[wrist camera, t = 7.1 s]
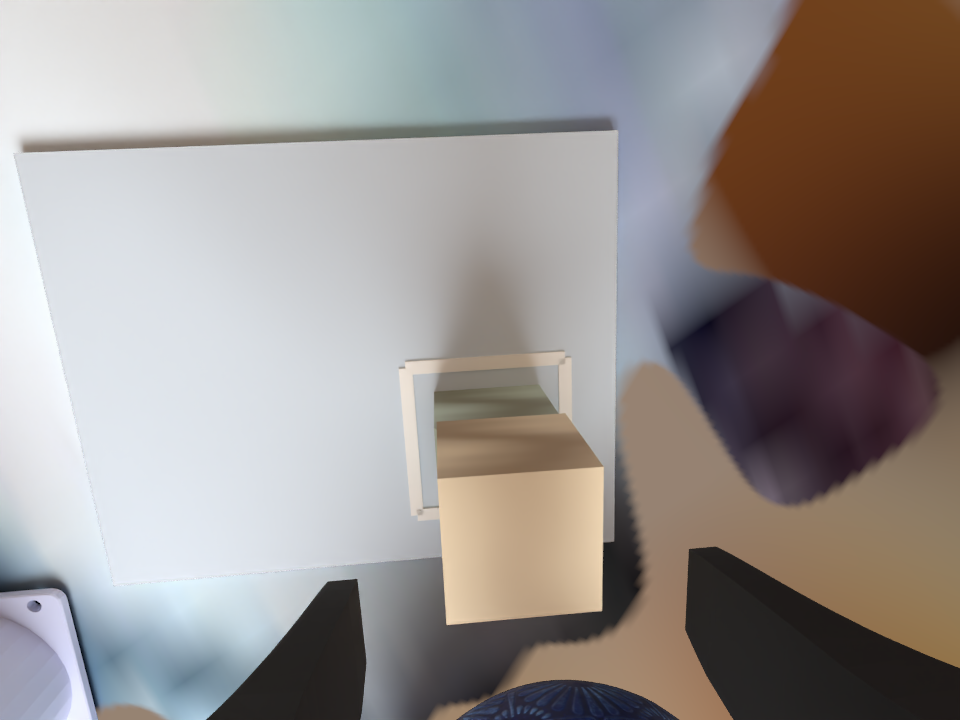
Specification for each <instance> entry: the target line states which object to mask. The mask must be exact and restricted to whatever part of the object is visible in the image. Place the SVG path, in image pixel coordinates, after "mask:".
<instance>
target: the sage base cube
mask: <svg viewBox="0 0 960 720" xmlns="http://www.w3.org/2000/svg"><path fill="white" fill-rule="evenodd" d="M546 414H559V413H558V412H557V411H556V409H555V408H554V406H553V405H552V403H551V402H550V400H549V399H548V397H547V396H546V394H545V393H544V391H543V390H542V388H541V387H540V386H539V385H524V386H510V387H495V388H481V389H466V390H452V391H437V392H434V436H435V450H436V464H437V422H440V421H455V420H470V419H485V418H501V417H516V416H531V415H546Z"/></svg>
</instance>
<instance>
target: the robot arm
mask: <svg viewBox="0 0 960 720" xmlns="http://www.w3.org/2000/svg"><path fill="white" fill-rule="evenodd" d="M35 601H38V602H39V603H40V604H41V605H38V604H36V602H35ZM685 630H686V632H687V635H688V637H689V639H690V641H691V644H692V646H693V648H694V650H695V652H696V655H697V657H698V659H699V661H700V663H701V665H702V667H703V669H704V671H705V673H706V675H707V677H708V679H709V680H710V682H711V684H712V685H713V687H714V689H715V690H716V692H717V694H718V695H719V697H720V699H721V700H722V702H723V703H724V705H725V707H726V708H727V710H728V712H729V713H730V715H731V716H732V718H733V719H734V720H960V668H958V667H955V666H953V665H950V664H947V663H945V662H942V661H940V660H937V659H935V658H932V657H930V656H928V655H925V654H923V653H921V652H918V651H916V650H913V649H911V648H909V647H907V646H905V645H902V644H900V643H898V642H895V641H893V640H891V639H889V638H886V637H884V636H882V635H880V634H878V633H876V632H873V631H871V630H869V629H867V628H865V627H863V626H861V625H859V624H857V623H855V622H853V621H851V620H849V619H847V618H845V617H843V616H841V615H839V614H837V613H835V612H833V611H831V610H830V609H828V608H826V607H824V606H822V605H820V604H818V603H817V602H815V601H813V600H811V599H809V598H807V597H806V596H804V595H802V594H800V593H798V592H797V591H795V590H793V589H791V588H789V587H788V586H786V585H784V584H782V583H781V582H779V581H777V580H775V579H774V578H772V577H770V576H768V575H767V574H765V573H763V572H762V571H760V570H758V569H756V568H755V567H753V566H751V565H749V564H748V563H746V562H744V561H742V560H741V559H739V558H737V557H735V556H733V555H732V554H730V553H728V552H725V551H724V550H722V549H720V548H718V547H707V548H696V549H689V561H688V583H687V604H686V626H685ZM365 672H366V653H365V644H364V636H363V627H362V618H361V609H360V600H359V591H358V582H357V579H352V580H341V581H330V582H327V583H326V584H325V585H324V587H323V588H322V589H321V590H320V592H319V593H318V594H317V595H316V597H315V598H314V599H313V601H312V602H311V603H310V605H309V606H308V607H307V608H306V610H305V611H304V612H303V614H302V615H301V616H300V617H299V619H298V620H297V621H296V622H295V624H294V625H293V626H292V628H291V629H290V630H289V631H288V632H287V634H286V635H285V636H284V637H283V638H282V640H281V641H280V642H279V643H278V644H277V646H276V647H275V648H274V649H273V650H272V652H271V653H270V654H269V655H268V656H267V657H266V659H265V660H264V661H263V662H262V663H261V664H260V665H259V666H258V667H257V668H256V670H255V671H254V672H253V673H252V674H251V675H250V676H249V677H248V678H247V679H246V680H245V682H244V683H243V684H242V685H241V686H240V687H239V688H238V689H237V690H236V691H235V692H234V693H233V694H232V695H231V696H230V697H229V698H228V699H227V700H226V701H225V702H224V703H223V704H222V705H221V706H220V707H219V708H218V709H217V710H216V711H215V712H214V713H213V714H212V715H211V716H210V717H209V718H207V719H206V720H360V718H361V713H362V704H363V694H364V683H365ZM0 720H98V717H97V714H96V710H95V706H94V702H93V698H92V694H91V690H90V686H89V682H88V678H87V674H86V670H85V667H84V663H83V659H82V655H81V651H80V647H79V643H78V639H77V635H76V631H75V627H74V623H73V620H72V616H71V612H70V608H69V604H68V600H67V597H66V595H65V594H64V593H63V592H62V591H61V590H58V589H55V588H47V589H36V590H25V591H13V592H2V593H0Z"/></svg>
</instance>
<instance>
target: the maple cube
mask: <svg viewBox="0 0 960 720" xmlns="http://www.w3.org/2000/svg"><path fill="white" fill-rule="evenodd" d="M437 483H438V498H439V514H440V530H441V546H442V561H443V577H444V593H445V609H446V624H447V625H453V624H464V623H475V622H486V621H497V620H508V619H519V618H530V617H541V616H552V615H563V614H574V613H585V612H596V611H602V575H603V495H604V466H603V465H602V464H601V462H600V461H599V459H598V458H597V457H596V455H595V454H594V452H593V451H592V450H591V448H590V447H589V445H588V444H587V443H586V441H585V440H584V438H583V437H582V436H581V434H580V433H579V432H578V430H577V429H576V427H575V426H574V425H573V423H572V422H571V420H570V419H569V418H568V416H567V415H566V413H562V414H546V415H531V416H516V417H501V418H485V419H470V420H455V421H440V422H437Z"/></svg>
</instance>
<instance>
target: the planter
mask: <svg viewBox="0 0 960 720" xmlns="http://www.w3.org/2000/svg"><path fill="white" fill-rule="evenodd" d="M457 720H679V719H677V718H676V717H675V716H673V715H672V714H670V713H669V712H667V711H666V710H664V709H663V708H661V707H660V706H658V705H657V704H655V703H654V702H652V701H650V700H648V699H646V698H644V697H642V696H639V695H637V694H634V693H631V692H628V691H626V690H623V689H620V688H617V687H613V686H609V685H605V684H600V683H594V682H588V681H578V680H551V681H542V682H536V683H532V684H527V685H523V686H519V687H516V688H513V689H510V690H507V691H505V692H502V693H500V694H497V695H495V696H493V697H491V698H489V699H487V700H485V701H484V702H482V703H480V704H479V705H477V706H476V707H474V708H472V709H471V710H469V711H468V712H466V713H465V714H464V715H462V716H461V717H460V718H458V719H457Z"/></svg>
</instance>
